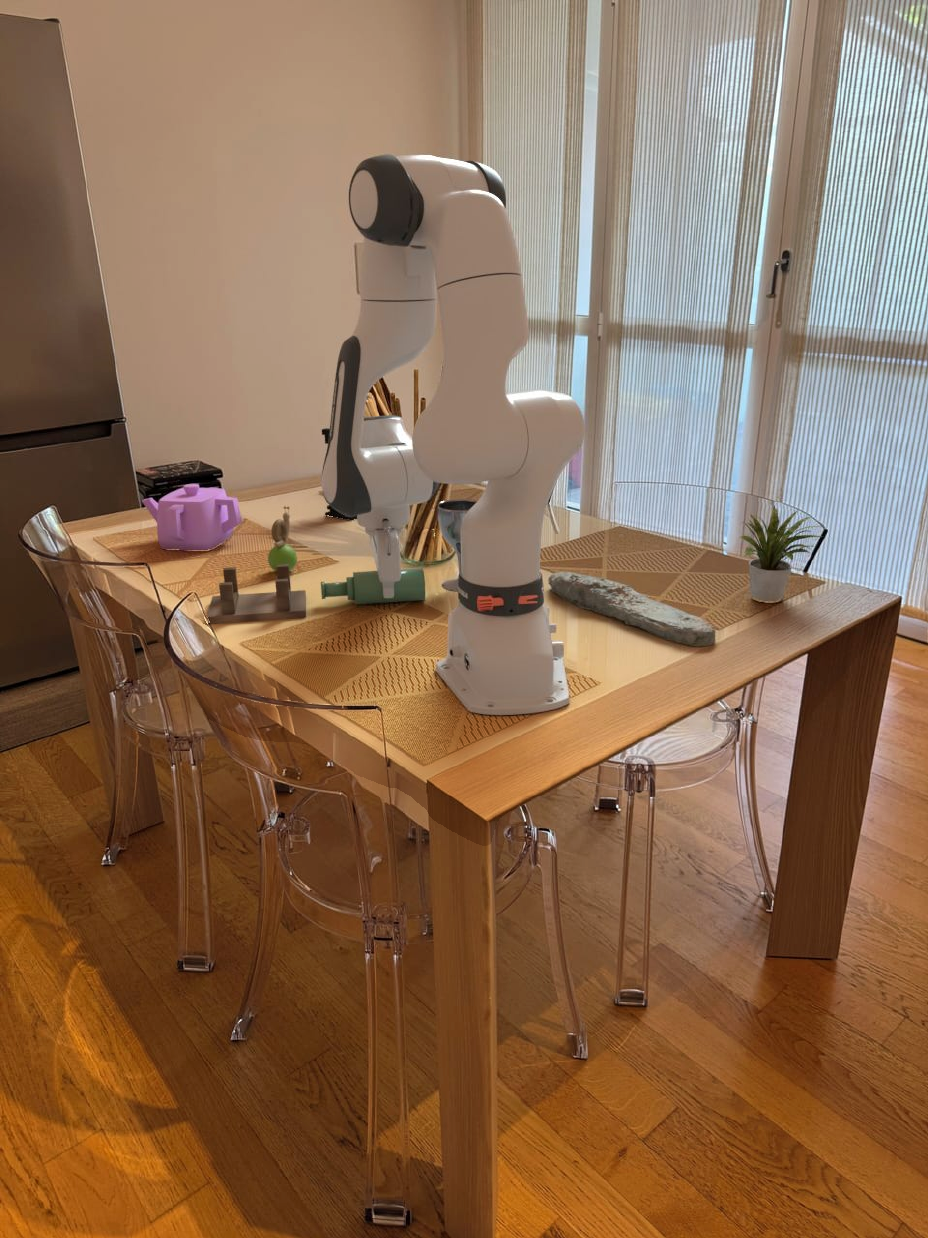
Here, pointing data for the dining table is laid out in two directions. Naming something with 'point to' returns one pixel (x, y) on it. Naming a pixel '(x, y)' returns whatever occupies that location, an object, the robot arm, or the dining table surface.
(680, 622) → the long grey stone
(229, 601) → the u-rest
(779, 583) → the house plant
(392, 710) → the dining table surface
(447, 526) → the wine glass
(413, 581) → the bottle
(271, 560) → the snail figurine
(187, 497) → the teakettle
